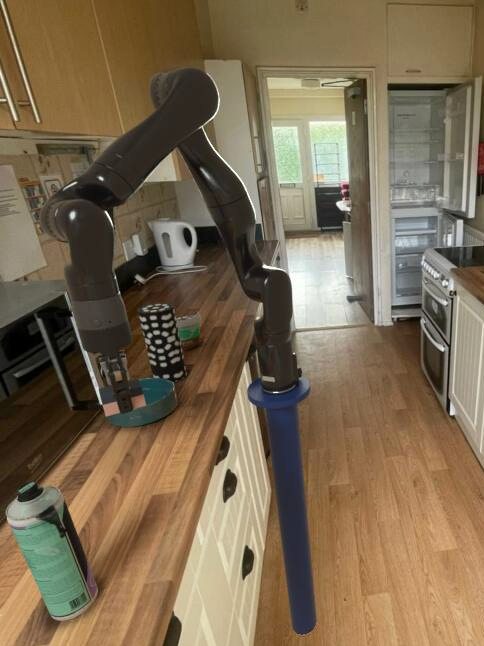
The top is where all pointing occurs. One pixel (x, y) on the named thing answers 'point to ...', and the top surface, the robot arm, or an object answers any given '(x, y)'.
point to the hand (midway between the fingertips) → (125, 406)
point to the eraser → (111, 402)
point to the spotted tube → (162, 341)
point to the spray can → (52, 550)
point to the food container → (189, 330)
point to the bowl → (149, 404)
